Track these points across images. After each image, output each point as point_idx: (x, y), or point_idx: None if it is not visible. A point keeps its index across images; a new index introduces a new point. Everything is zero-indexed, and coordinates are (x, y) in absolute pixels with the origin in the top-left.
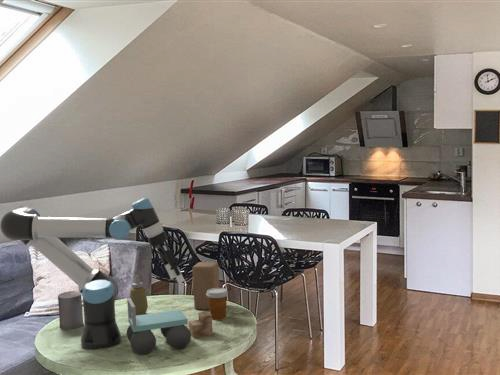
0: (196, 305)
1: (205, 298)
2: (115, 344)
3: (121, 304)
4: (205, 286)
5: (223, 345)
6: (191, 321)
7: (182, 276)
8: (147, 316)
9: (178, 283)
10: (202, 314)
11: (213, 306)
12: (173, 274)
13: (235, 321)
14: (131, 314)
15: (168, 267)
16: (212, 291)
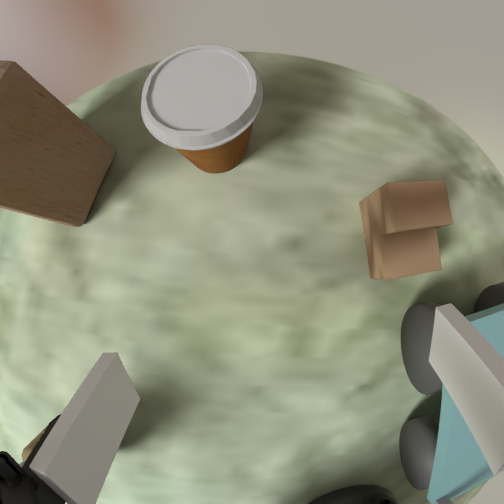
0: (80, 217)
1: (81, 170)
2: (388, 491)
3: (7, 439)
4: (52, 150)
5: (485, 188)
6: (396, 268)
7: (474, 331)
8: (471, 449)
9: (431, 360)
10: (427, 216)
11: (243, 141)
12: (114, 393)
13: (285, 97)
14: (449, 501)
15: (88, 472)
16: (190, 109)
